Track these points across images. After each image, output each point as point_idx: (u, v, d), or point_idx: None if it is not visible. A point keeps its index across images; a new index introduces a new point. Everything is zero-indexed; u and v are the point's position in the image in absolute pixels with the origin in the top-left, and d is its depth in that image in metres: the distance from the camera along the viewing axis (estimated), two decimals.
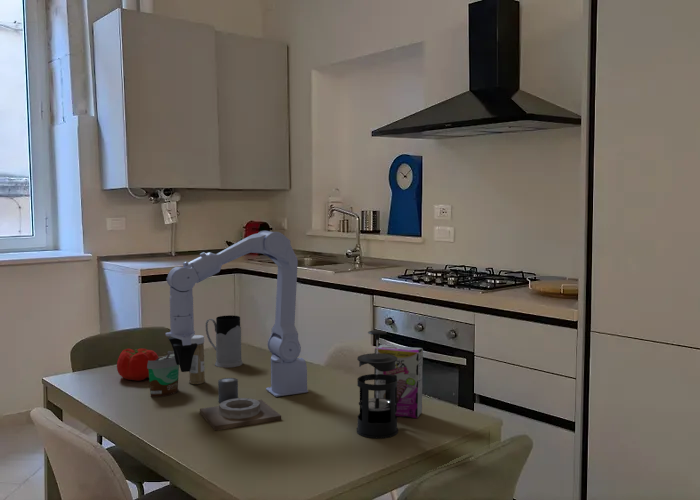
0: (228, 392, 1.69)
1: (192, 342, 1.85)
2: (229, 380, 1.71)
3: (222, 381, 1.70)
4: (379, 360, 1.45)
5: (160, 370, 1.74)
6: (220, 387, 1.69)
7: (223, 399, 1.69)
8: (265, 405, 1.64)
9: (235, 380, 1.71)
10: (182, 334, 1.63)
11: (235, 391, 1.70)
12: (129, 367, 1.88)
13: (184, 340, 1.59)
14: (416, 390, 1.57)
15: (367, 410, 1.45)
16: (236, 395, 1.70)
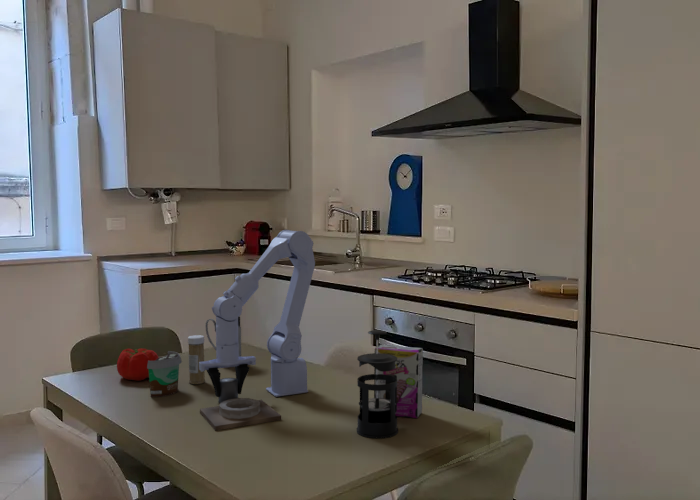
0: (228, 392, 1.69)
1: (192, 342, 1.85)
2: (229, 380, 1.71)
3: (222, 381, 1.70)
4: (379, 360, 1.45)
5: (160, 370, 1.74)
6: (220, 387, 1.69)
7: (223, 399, 1.69)
8: (265, 405, 1.64)
9: (235, 380, 1.71)
10: (215, 360, 1.69)
11: (235, 391, 1.70)
12: (129, 367, 1.88)
13: (199, 365, 1.68)
14: (416, 390, 1.57)
15: (367, 410, 1.45)
16: (236, 395, 1.70)
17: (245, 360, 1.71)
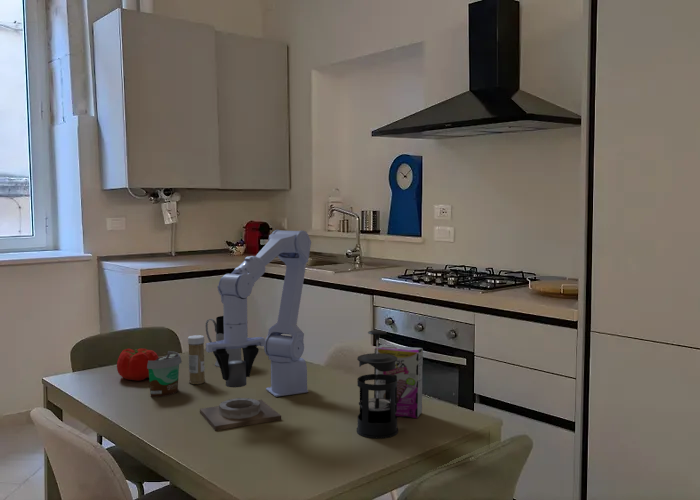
0: (237, 374, 1.59)
1: (192, 342, 1.85)
2: (237, 362, 1.61)
3: (230, 363, 1.60)
4: (379, 360, 1.45)
5: (160, 370, 1.74)
6: (228, 369, 1.59)
7: (231, 382, 1.59)
8: (265, 405, 1.64)
9: (243, 362, 1.61)
10: (223, 341, 1.59)
11: (244, 374, 1.60)
12: (129, 367, 1.88)
13: (206, 346, 1.57)
14: (416, 390, 1.57)
15: (367, 410, 1.45)
16: (245, 378, 1.60)
17: (254, 341, 1.61)
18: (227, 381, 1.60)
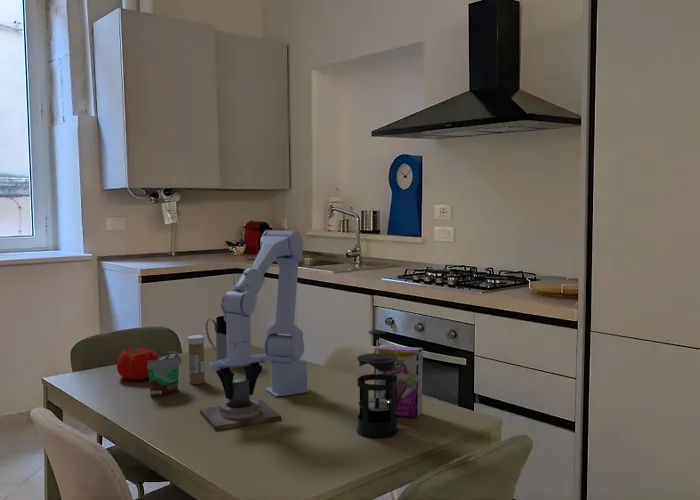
0: (241, 393, 1.57)
1: (192, 342, 1.85)
2: (240, 380, 1.59)
3: (233, 382, 1.58)
4: (379, 360, 1.45)
5: (160, 370, 1.74)
6: (232, 388, 1.57)
7: (235, 401, 1.57)
8: (265, 405, 1.64)
9: (247, 380, 1.59)
10: (226, 360, 1.57)
11: (248, 392, 1.58)
12: (129, 367, 1.88)
13: (209, 365, 1.54)
14: (416, 390, 1.57)
15: (367, 410, 1.45)
16: (248, 396, 1.58)
17: (258, 358, 1.59)
18: (231, 400, 1.57)
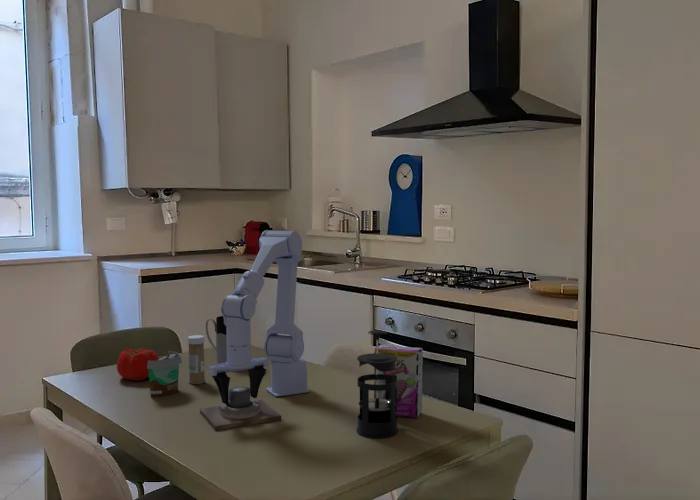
0: (242, 402, 1.57)
1: (192, 342, 1.85)
2: (241, 389, 1.59)
3: (234, 391, 1.58)
4: (379, 360, 1.45)
5: (160, 370, 1.74)
6: (232, 397, 1.57)
7: None
8: (265, 405, 1.64)
9: (247, 389, 1.59)
10: (227, 364, 1.57)
11: (248, 401, 1.58)
12: (129, 367, 1.88)
13: (209, 369, 1.55)
14: (416, 390, 1.57)
15: (367, 410, 1.45)
16: (249, 405, 1.59)
17: (258, 362, 1.59)
18: None
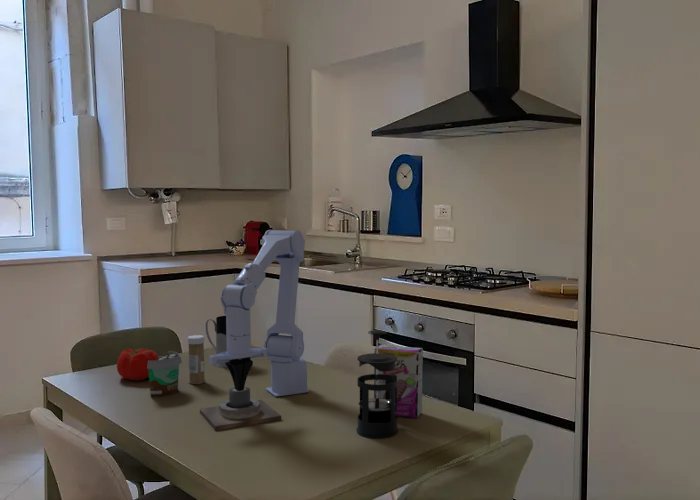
0: (242, 402, 1.57)
1: (192, 342, 1.85)
2: None
3: (234, 391, 1.58)
4: (379, 360, 1.45)
5: (160, 370, 1.74)
6: (232, 397, 1.57)
7: None
8: (265, 405, 1.64)
9: (247, 389, 1.59)
10: (226, 353, 1.57)
11: (248, 401, 1.58)
12: (129, 368, 1.88)
13: (209, 358, 1.54)
14: (416, 390, 1.57)
15: (367, 410, 1.45)
16: (249, 405, 1.59)
17: (257, 352, 1.59)
18: None
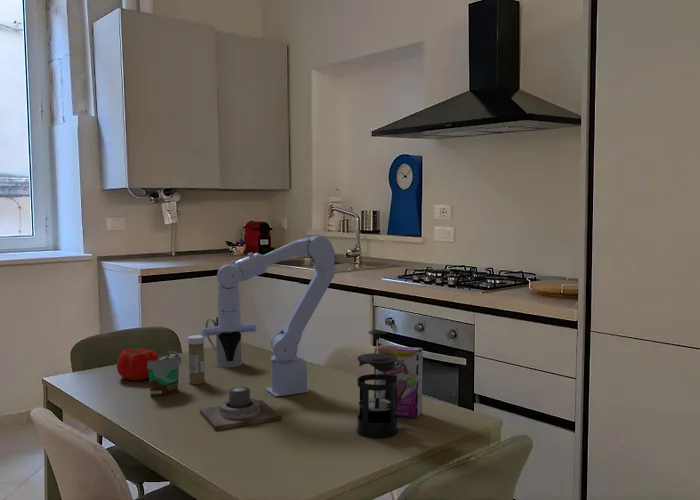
0: (242, 402, 1.57)
1: (192, 342, 1.85)
2: (241, 389, 1.59)
3: (234, 391, 1.58)
4: (379, 360, 1.45)
5: (160, 370, 1.74)
6: (232, 397, 1.57)
7: None
8: (265, 405, 1.64)
9: (247, 389, 1.59)
10: (217, 327, 1.74)
11: (248, 401, 1.58)
12: (129, 368, 1.88)
13: (201, 331, 1.72)
14: (416, 390, 1.57)
15: (367, 410, 1.45)
16: (249, 405, 1.59)
17: (246, 327, 1.76)
18: None
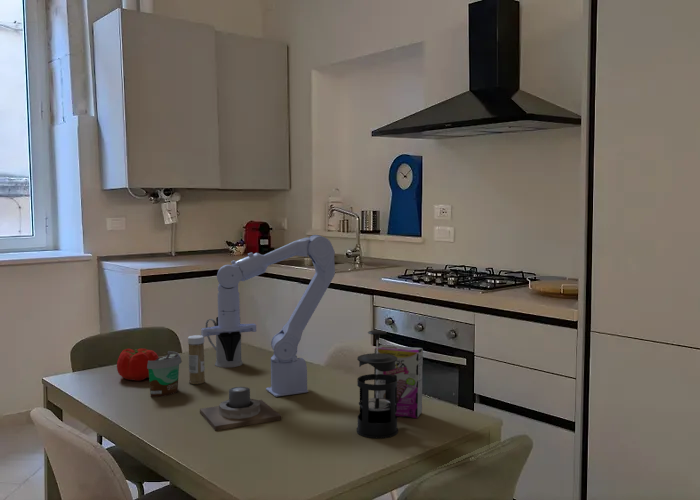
0: (242, 402, 1.57)
1: (192, 342, 1.85)
2: (241, 389, 1.59)
3: (234, 391, 1.58)
4: (379, 360, 1.45)
5: (160, 370, 1.74)
6: (232, 397, 1.57)
7: None
8: (265, 405, 1.64)
9: (247, 389, 1.59)
10: (217, 327, 1.74)
11: (248, 401, 1.58)
12: (129, 367, 1.88)
13: (201, 331, 1.73)
14: (416, 390, 1.57)
15: (367, 410, 1.45)
16: (249, 405, 1.59)
17: (246, 327, 1.76)
18: None
